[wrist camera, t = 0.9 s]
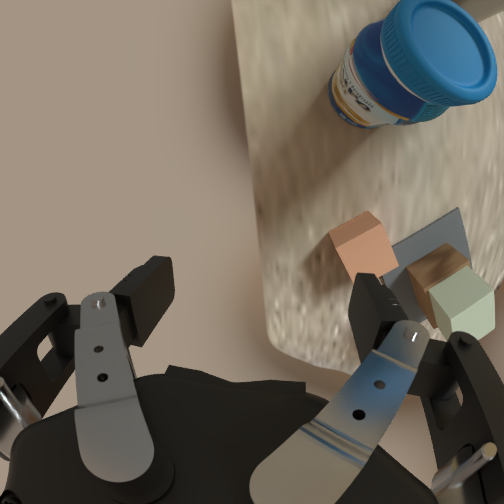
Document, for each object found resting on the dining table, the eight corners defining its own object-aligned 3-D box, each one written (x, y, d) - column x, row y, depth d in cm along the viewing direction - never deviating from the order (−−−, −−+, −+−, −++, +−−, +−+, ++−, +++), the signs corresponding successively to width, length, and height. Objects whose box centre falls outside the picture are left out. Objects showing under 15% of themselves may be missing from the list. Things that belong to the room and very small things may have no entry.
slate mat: (457, 207, 28) (458, 207, 28) (474, 286, 32) (475, 288, 32) (373, 256, 33) (374, 257, 32) (402, 330, 36) (403, 331, 36)
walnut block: (446, 242, 30) (469, 259, 24) (455, 281, 32) (475, 302, 26) (405, 266, 32) (423, 288, 27) (418, 304, 34) (433, 329, 28)
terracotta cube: (367, 210, 31) (381, 222, 26) (384, 247, 32) (399, 265, 27) (328, 231, 32) (335, 248, 27) (347, 267, 34) (356, 289, 29)
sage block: (466, 265, 25) (493, 289, 19) (472, 301, 26) (494, 328, 21) (428, 289, 27) (450, 319, 21) (436, 324, 28) (455, 354, 23)
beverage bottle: (393, 136, 27) (512, 140, 8) (324, 124, 28) (383, 92, 9) (395, 71, 24) (497, 15, 5) (326, 57, 24) (372, -41, 6)
